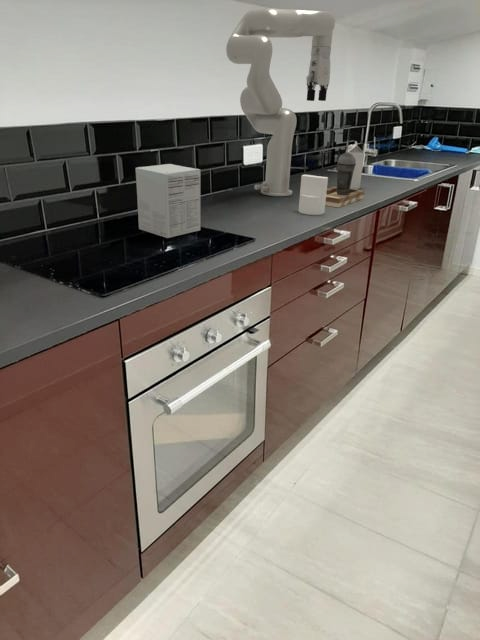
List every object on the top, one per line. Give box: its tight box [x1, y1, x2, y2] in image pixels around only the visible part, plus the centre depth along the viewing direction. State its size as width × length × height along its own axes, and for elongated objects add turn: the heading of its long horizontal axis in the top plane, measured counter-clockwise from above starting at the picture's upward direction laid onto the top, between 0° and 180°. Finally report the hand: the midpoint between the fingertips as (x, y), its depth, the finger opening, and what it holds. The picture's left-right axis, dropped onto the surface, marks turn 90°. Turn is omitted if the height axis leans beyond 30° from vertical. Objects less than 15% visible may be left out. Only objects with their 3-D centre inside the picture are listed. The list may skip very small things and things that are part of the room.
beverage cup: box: [336, 139, 356, 195], centre depth 189 cm, size 7×7×20 cm
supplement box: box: [135, 163, 201, 239], centre depth 140 cm, size 13×13×18 cm
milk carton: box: [348, 141, 365, 190], centre depth 212 cm, size 7×7×19 cm
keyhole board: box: [325, 185, 365, 208], centre depth 189 cm, size 22×13×3 cm, turn 144°
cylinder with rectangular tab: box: [298, 174, 329, 216], centre depth 169 cm, size 9×9×12 cm
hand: (316, 100), depth 199 cm, fingers open, 9 cm apart
